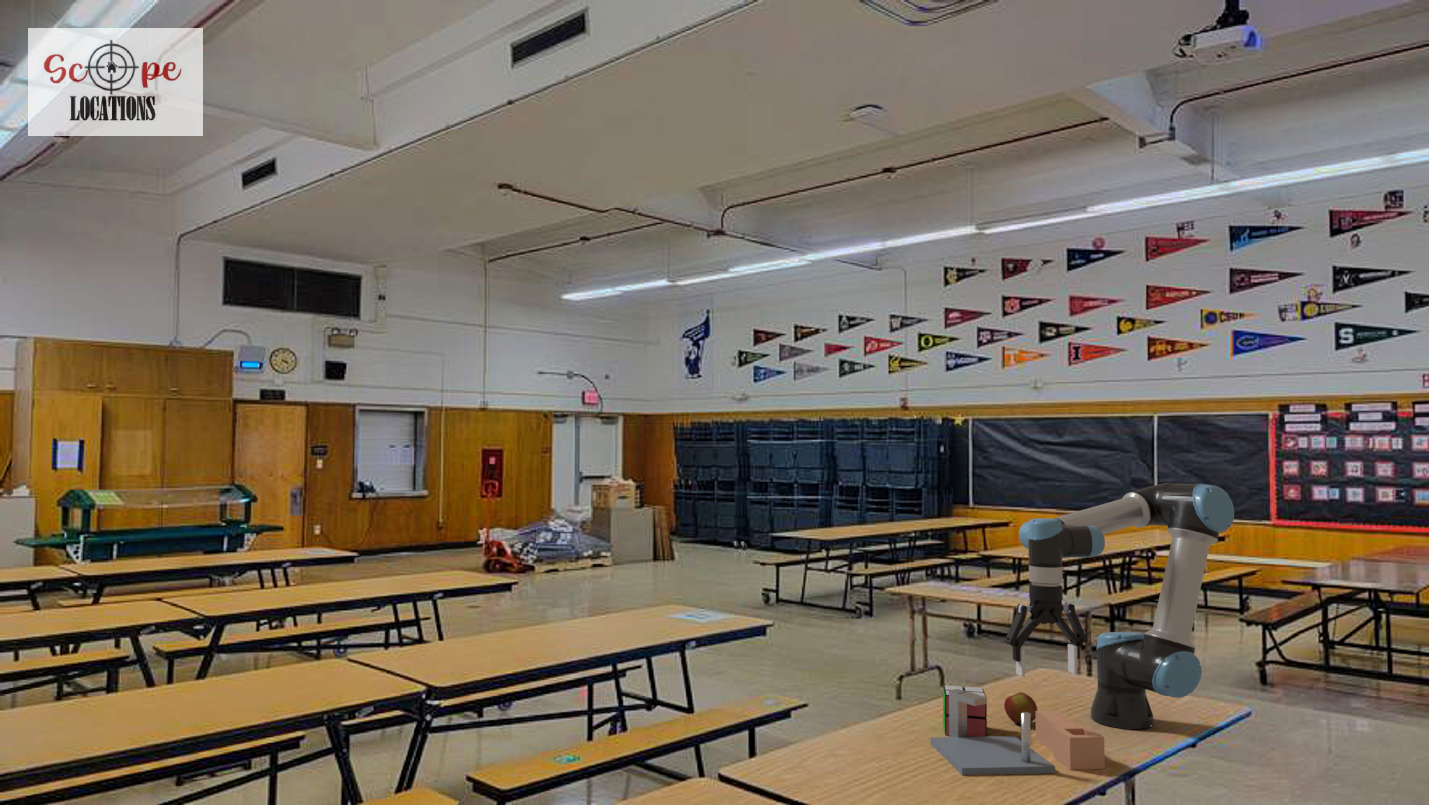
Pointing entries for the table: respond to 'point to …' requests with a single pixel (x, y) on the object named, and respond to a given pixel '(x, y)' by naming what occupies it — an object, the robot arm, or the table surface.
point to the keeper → (961, 710)
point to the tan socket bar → (1070, 741)
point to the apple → (1020, 707)
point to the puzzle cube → (974, 713)
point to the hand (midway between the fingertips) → (1046, 674)
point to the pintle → (1025, 737)
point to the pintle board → (989, 755)
